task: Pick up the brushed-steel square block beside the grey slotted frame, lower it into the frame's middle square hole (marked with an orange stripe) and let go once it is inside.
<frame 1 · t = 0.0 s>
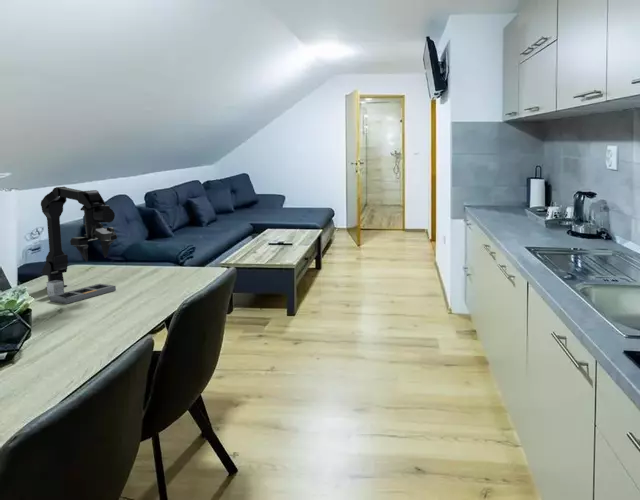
hand: (96, 259, 241), 14 cm above the table, fingers open, 9 cm apart
steel block: (56, 295, 242), on the table
grey slotted frame: (84, 295, 241), on the table
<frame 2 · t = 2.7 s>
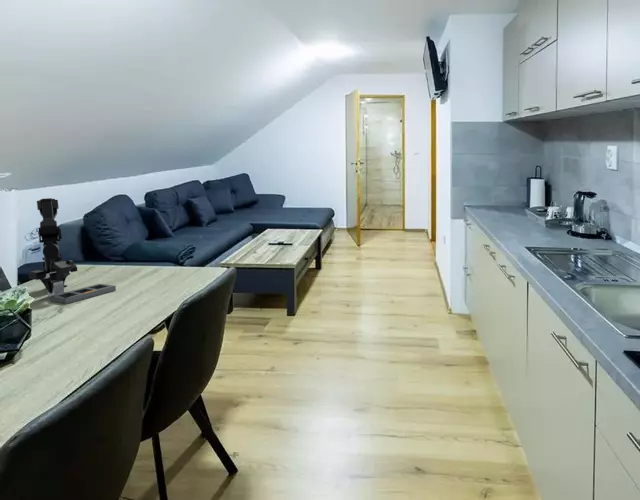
hand: (55, 292, 242), 2 cm above the table, fingers closed on steel block, 4 cm apart
steel block: (56, 295, 242), on the table, touching gripper
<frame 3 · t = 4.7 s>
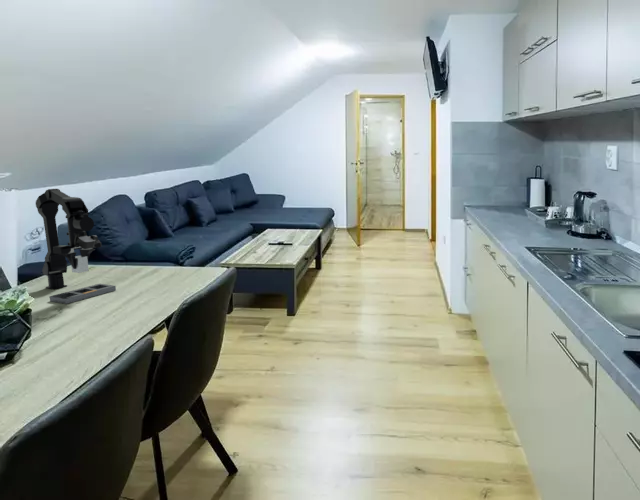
hand: (79, 267, 239), 12 cm above the table, fingers closed on steel block, 4 cm apart
steel block: (80, 271, 239), point 10 cm above the table, touching gripper
when the fingers open (3 cm above the table, at t = 6.7 s): steel block drops 2 cm, resting in grey slotted frame.
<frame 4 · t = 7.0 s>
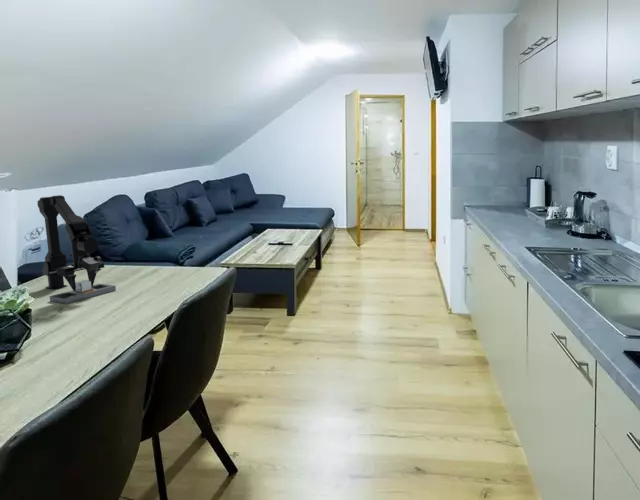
hand: (83, 288, 240), 3 cm above the table, fingers open, 8 cm apart
steel block: (83, 295, 241), resting in grey slotted frame
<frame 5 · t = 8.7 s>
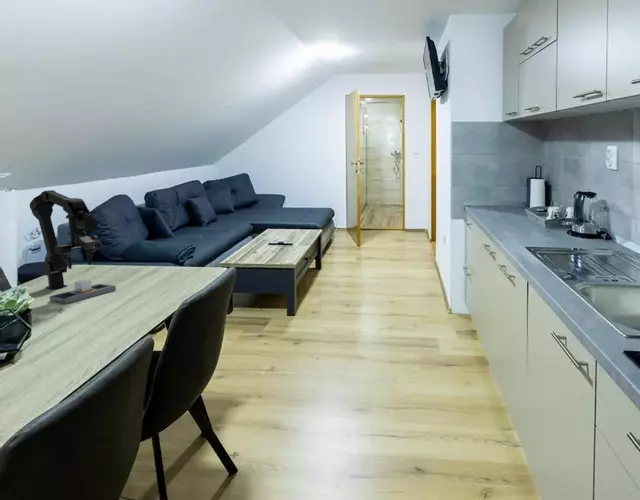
hand: (80, 266, 245), 11 cm above the table, fingers open, 9 cm apart
nothing on the table moved.
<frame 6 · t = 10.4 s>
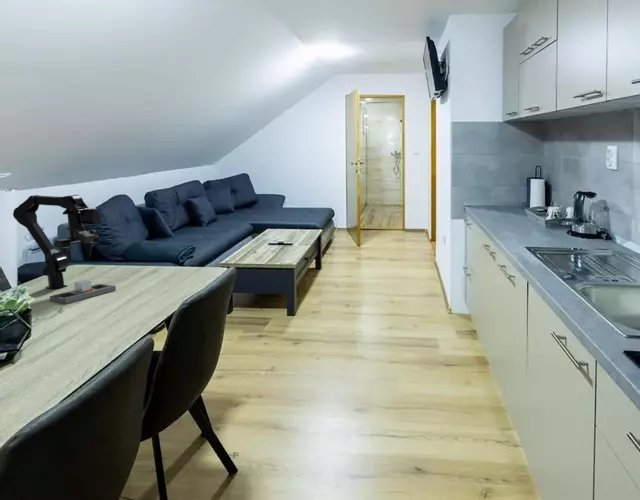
hand: (79, 260, 253), 12 cm above the table, fingers open, 9 cm apart
nothing on the table moved.
at the end: steel block 0.0 cm off-centre on the grey slotted frame, point 0.0 cm above the grey slotted frame's base; steel block tilted 0°; the gripper is holding nothing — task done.
